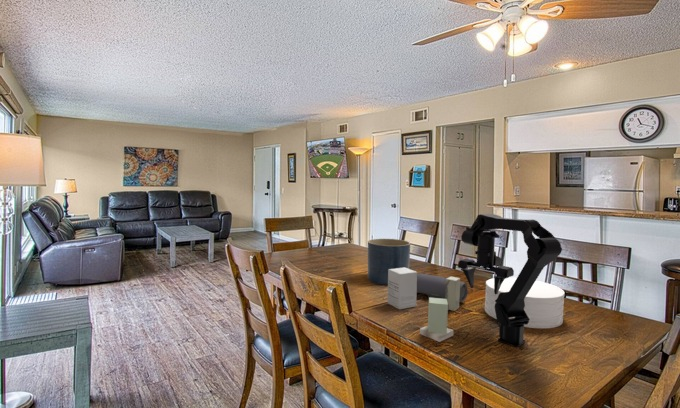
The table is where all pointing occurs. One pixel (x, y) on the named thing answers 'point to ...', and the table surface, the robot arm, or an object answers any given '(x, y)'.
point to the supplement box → (402, 288)
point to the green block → (437, 315)
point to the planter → (386, 258)
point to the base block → (436, 334)
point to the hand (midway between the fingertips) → (483, 290)
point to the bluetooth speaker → (437, 287)
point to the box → (452, 293)
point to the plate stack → (532, 303)
